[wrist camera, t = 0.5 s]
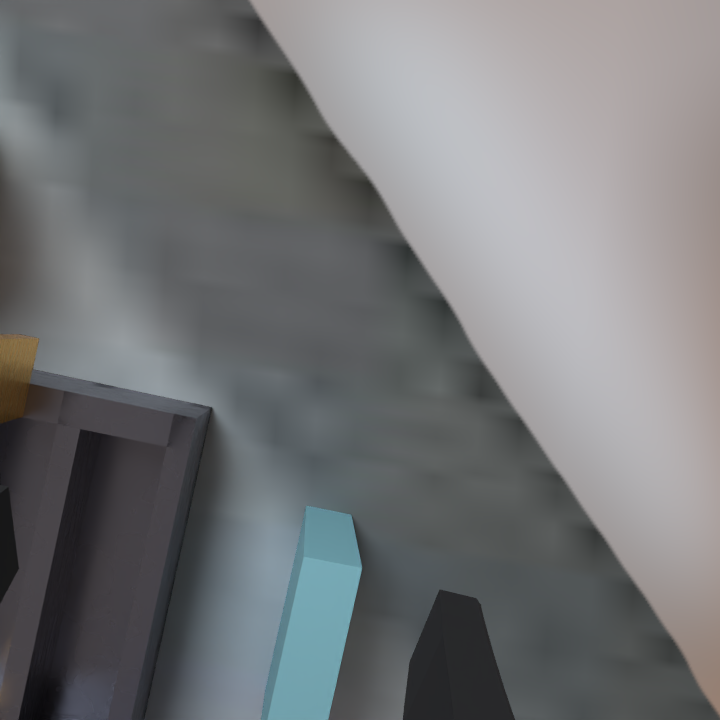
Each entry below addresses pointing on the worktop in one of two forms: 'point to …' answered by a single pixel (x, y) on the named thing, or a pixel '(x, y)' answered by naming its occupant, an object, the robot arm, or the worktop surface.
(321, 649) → the block
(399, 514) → the worktop surface
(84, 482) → the rack
